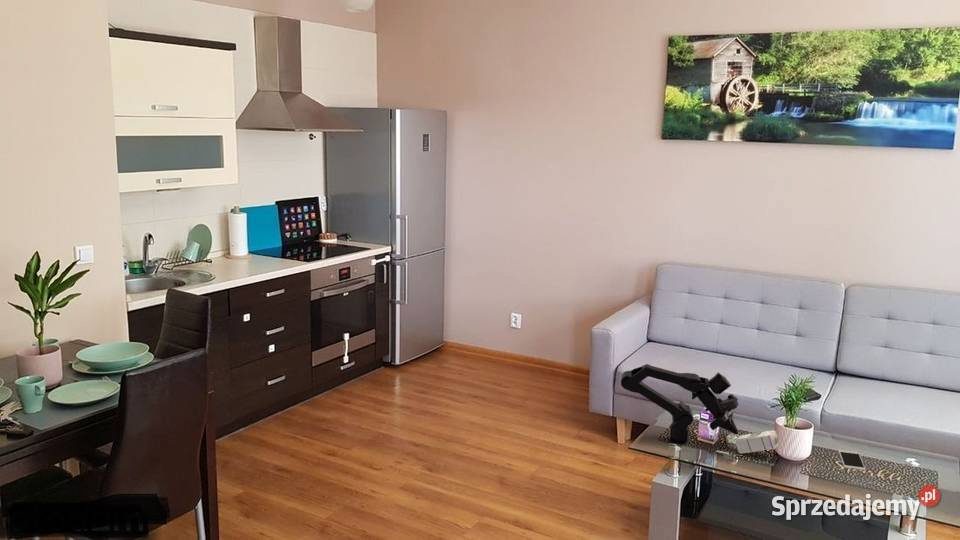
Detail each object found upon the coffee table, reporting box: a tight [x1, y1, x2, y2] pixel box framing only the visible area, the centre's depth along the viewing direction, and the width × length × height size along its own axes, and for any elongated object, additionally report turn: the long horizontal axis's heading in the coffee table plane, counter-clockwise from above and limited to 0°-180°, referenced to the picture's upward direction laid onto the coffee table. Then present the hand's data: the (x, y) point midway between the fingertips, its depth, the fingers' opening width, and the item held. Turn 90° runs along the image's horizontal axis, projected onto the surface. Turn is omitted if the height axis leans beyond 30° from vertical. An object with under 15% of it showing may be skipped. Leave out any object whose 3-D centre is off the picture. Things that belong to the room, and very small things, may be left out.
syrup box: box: [734, 430, 780, 455], centre depth 290 cm, size 6×6×14 cm
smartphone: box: [838, 449, 866, 471], centre depth 287 cm, size 7×15×1 cm, turn 163°
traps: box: [721, 453, 736, 462], centre depth 294 cm, size 6×23×1 cm, turn 124°
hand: (737, 433), depth 294 cm, fingers closed
